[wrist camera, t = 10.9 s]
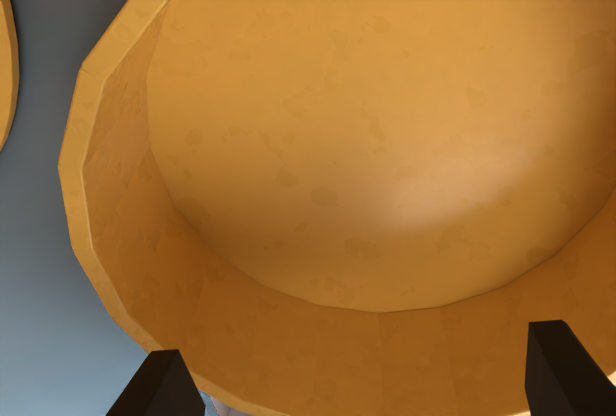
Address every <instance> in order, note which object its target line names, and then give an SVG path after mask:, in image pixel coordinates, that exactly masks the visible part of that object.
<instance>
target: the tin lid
mask: <svg viewBox="0 0 616 416" xmlns="http://www.w3.org/2000/svg"><path fill="white" fill-rule="evenodd" d="M18 86H19V59H18V41H17V36H16V30H15V24H14V19H13V13H12V7H11V3H10V0H0V151H1V149H2V147H3V146H4V144H5V142H6V140H7V138H8V135H9V131H10V128H11V125H12V121H13V118H14V114H15V111H16V103H17V94H18Z"/></svg>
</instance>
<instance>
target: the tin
mask: <svg viewBox="0 0 616 416" xmlns="http://www.w3.org/2000/svg"><path fill="white" fill-rule="evenodd" d="M58 163H59V164H58V170H59V176H60V182H61V188H62V194H63V199H64V205H65V211H66V217H67V223H68V229H69V235H70V241H71V246H72V249H73V252H74V253H75V255H76V257H77V259H78V260H79V262H80V264H81V266H82V267H83V269H84V271H85V273H86V274H87V276H88V278H89V280H90V281H91V283H92V285H93V287H94V288H95V290H96V292H97V294H98V295H99V297H100V299H101V301H102V302H103V304H104V306H105V308H106V309H107V311H108V313H109V315H110V316H111V317H112V319H113V320H114V321H115V322H116V323H117V324H118V325H119V326H120V327H121V328H122V329H123V330H124V331H125V332H126V333H127V334H128V335H130V336H131V337H132V338H133V339H134V340H135V341H136V342H137V343H138V344H139V345H140V346H141V347H142V348H143V349H144V350H145V351H146V352H148V353H149V354H150V352H151V351H157V350H170V349H179V351H180V353H181V355H182V357H183V360H184V362H185V364H186V366H187V368H188V370H189V372H190V374H191V377H192V379H193V381H194V383H195V385H196V387H197V388H198V389H199V390H201V391H203V392H205V393H207V394H208V395H210V396H212V397H214V398H215V399H217V400H219V401H221V402H223V403H224V404H226V405H228V406H230V407H231V408H235V409H236V410H239V411H242V412H245V413H249V414H252V415H255V416H531V414H530V410H529V405H528V401H527V396H526V392H525V388H524V384H525V369H526V355H527V340H528V325H529V322H535V321H548V320H561V319H562V320H563V321H564V322H566V323H567V324H568V325H569V327H570V328H571V330H572V331H573V333H574V334H575V335H576V337H577V338H578V340H579V341H580V342H581V344H582V345H583V346H584V348H585V349H586V350H587V352H588V353H589V354H590V356H591V357H592V358H593V360H594V361H595V362H596V363H597V365H598V366H599V367H600V368H601V370H602V371H603V372H604V373H605V375H606V376H607V377H608V379H609V380H610V381H611V382H612V383H613V385H616V0H127V2H126V3H125V5H124V6H123V7H122V9H121V10H120V11H119V13H118V14H117V16H116V17H115V18H114V20H113V21H112V23H111V24H110V25H109V27H108V28H107V29H106V31H105V32H104V34H103V35H102V36H101V38H100V39H99V41H98V42H97V43H96V45H95V46H94V48H93V49H92V50H91V52H90V53H89V54H88V56H87V57H86V59H85V60H84V61H83V63H82V64H81V68H80V69H79V72H78V77H77V81H76V85H75V90H74V94H73V98H72V103H71V107H70V111H69V116H68V120H67V125H66V129H65V133H64V138H63V142H62V146H61V151H60V155H59V159H58Z"/></svg>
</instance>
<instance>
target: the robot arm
mask: <svg viewBox="0 0 616 416" xmlns="http://www.w3.org/2000/svg"><path fill="white" fill-rule="evenodd" d="M524 388H525V392H526V396H527V401H528V405H529V410H530V414H531V416H616V387H615V386H614V385H613V383H612V382H611V381H610V380H609V379H608V377H607V376H606V375H605V373H604V372H603V371H602V370H601V368H600V367H599V366H598V365H597V363H596V362H595V361H594V360H593V358H592V357H591V356H590V354H589V353H588V352H587V350H586V349H585V348H584V346H583V345H582V344H581V342H580V341H579V340H578V338H577V337H576V335H575V334H574V333H573V331H572V330H571V328H570V327H569V325H568V324H567V323H566V322H564V321H563V320H562V319H561V320H548V321H535V322H529V325H528V340H527V355H526V369H525V384H524ZM209 396H210V395H209ZM210 398H211V400H212V402H213V404H214V406H215V408H216V411H217V413H218V415H219V416H255V415H252V414H249V413H245V412H242V411H239V410H236V409H235V408H231V407H230V406H228V405H226V404H224V403H223V402H221V401H219V400H217V399H215V398H214V397H212V396H210ZM204 415H205V404H204V402H203V400H202V398H201V396H200V393H199V391H198V389H197V387H196V385H195V383H194V381H193V379H192V377H191V374H190V372H189V370H188V368H187V366H186V364H185V362H184V360H183V357H182V355H181V353H180V351H179V349H170V350H157V351H151V352H150V354H149V355H148V356H147V358H146V359H145V360H144V362H143V363H142V365H141V366H140V367H139V369H138V370H137V372H136V373H135V375H134V376H133V377H132V379H131V380H130V382H129V383H128V385H127V386H126V387H125V389H124V390H123V392H122V393H121V395H120V396H119V397H118V399H117V400H116V402H115V403H114V404H113V406H112V407H111V409H110V410H109V411H108V413H107V414H106V416H204Z"/></svg>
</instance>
